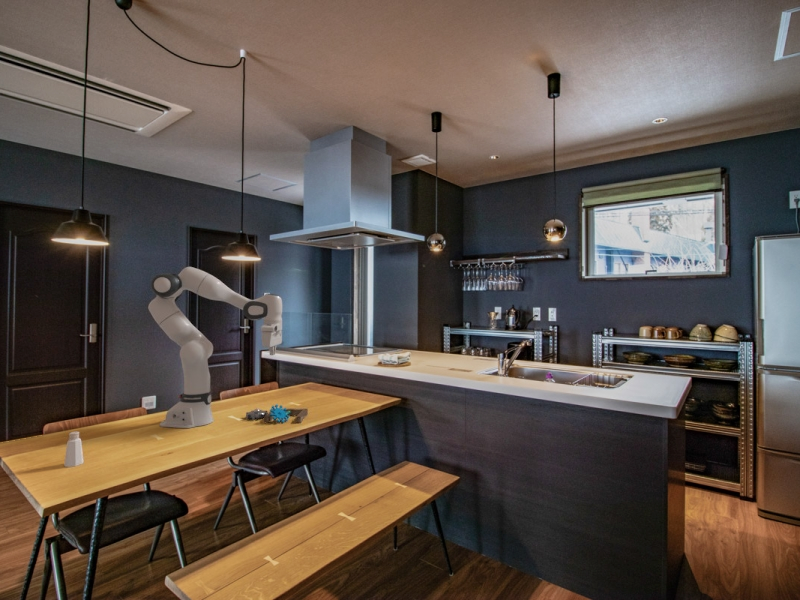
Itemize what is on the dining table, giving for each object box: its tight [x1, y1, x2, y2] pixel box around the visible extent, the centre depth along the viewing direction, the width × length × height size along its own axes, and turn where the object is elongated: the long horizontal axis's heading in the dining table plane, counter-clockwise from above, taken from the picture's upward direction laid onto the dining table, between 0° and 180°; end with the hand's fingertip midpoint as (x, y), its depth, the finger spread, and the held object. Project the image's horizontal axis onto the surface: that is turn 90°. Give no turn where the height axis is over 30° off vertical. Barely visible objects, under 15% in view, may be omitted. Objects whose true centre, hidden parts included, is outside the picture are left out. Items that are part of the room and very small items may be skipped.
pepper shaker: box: [64, 431, 85, 468], centre depth 146 cm, size 5×5×11 cm
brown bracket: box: [263, 408, 309, 424], centre depth 204 cm, size 17×15×3 cm
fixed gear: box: [245, 408, 269, 421], centre depth 206 cm, size 10×10×4 cm
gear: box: [269, 404, 291, 424], centre depth 201 cm, size 11×6×10 cm
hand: (272, 355), depth 206 cm, fingers closed
